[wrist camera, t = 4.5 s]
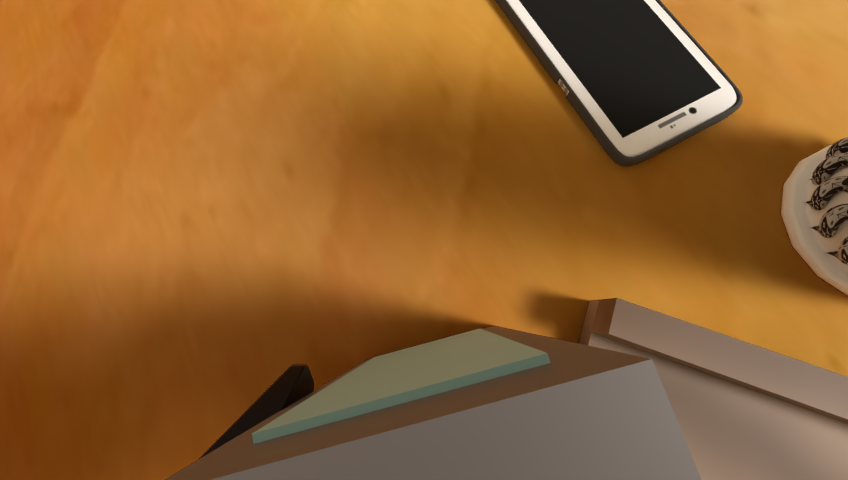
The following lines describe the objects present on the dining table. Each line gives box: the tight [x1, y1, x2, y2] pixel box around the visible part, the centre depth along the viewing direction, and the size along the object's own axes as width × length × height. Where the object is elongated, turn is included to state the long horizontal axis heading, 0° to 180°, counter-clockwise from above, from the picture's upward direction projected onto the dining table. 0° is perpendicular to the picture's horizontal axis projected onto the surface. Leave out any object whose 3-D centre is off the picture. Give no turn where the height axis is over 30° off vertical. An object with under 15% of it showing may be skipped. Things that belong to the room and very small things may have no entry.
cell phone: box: [496, 0, 742, 166], centre depth 19 cm, size 8×15×1 cm, turn 27°
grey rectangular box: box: [165, 326, 701, 480], centre depth 9 cm, size 4×6×12 cm, turn 105°
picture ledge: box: [579, 298, 848, 480], centre depth 13 cm, size 8×12×2 cm, turn 70°
